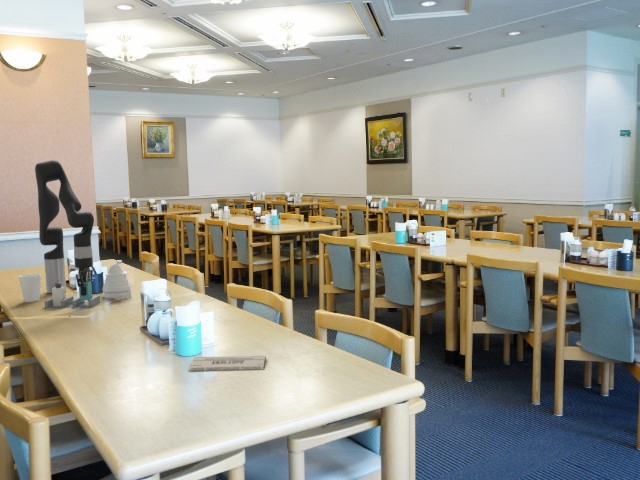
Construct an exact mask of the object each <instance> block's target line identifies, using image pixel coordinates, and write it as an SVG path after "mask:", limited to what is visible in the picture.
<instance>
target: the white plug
mask: <svg viewBox="0 0 640 480" xmlns="http://www.w3.org/2000/svg"><path fill="white" fill-rule="evenodd" d="M51 295H52V296H51V297H52V298H53V306H61V300H63V299H65V298H67V296H66V291H65V287H61V283H55V287H54V288H52V293H51Z"/></svg>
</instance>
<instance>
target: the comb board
mask: <svg viewBox="0 0 640 480" xmlns="http://www.w3.org/2000/svg"><path fill="white" fill-rule="evenodd" d="M101 303H102V301H101V296H100V295H95V296H92V298H91V299H89V300H87V301H86V300H80V296H78V297H76V298H74V296H73V295H70V296H68V297H67V296H66V298H65V299H63V300H61V306H53V297H51V298H49V299H46V300H44V307H42V309H79V308H80V309H85V308H86V309H87V308H94V307H96V306H98V305H100V304H101Z"/></svg>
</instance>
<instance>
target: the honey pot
mask: <svg viewBox="0 0 640 480" xmlns="http://www.w3.org/2000/svg"><path fill="white" fill-rule="evenodd" d="M122 263H123V260H122V259H119V260H116V263H115V262H114V263H112V264H111V266H110V267H109V268H108V271H107V272H106V273H105V279H104V283H103V286H102V297H103V298H105V299H111V301H120V300H121V301H122V300H126V299H130V298H131V297H132V289H131V287H132V286H131V284H130V282H129V279H128V278H127V275H128V272H127V271H125V270H124V269H123V268H122V266H121V264H122Z"/></svg>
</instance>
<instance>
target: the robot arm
mask: <svg viewBox="0 0 640 480" xmlns="http://www.w3.org/2000/svg"><path fill="white" fill-rule="evenodd" d="M34 167H35V168H34V172H35V181H36V186H37V201H38V202H37V204H38V207H37V208H38V215H39V232H38V233H39V235H38V236H39V243H40V244H41V245H42V246H56V247H55V248H53V249H52V250H50V251H47V252H45V253H44V254H43V259H44V260H43V261H44V273H45V287H46V288H45V290H46V294H52V288H54V287H55V283H61V287H65V292H66V291H67V281H66V269H65V268H66V264H65V251H64V232H63V231H64V230H63V228H62V227H61V226H49V225H50V224H51V223H52V222H53V221H54V220H55V218H57V216H58V215H59V213H60V204H61V205H62V207H63V209H64V211H65V215H66V218H67V222H68V225H69V226H70V227H72V228H73V229H78V228H79V229H80V228H81V231H79V232H77V233H74V235H73V247H74V248H73V259H74V268H76V269H78V274H75V280H76V284H77V287H78V288H79V287H80V288H81V296H85V295H86V282H87V277H88V281H91V284H92V283H93V273H94V270H93V269H91V268H92V267H93V266H94V260H93V259H94V258H93V257H94V256H93V248H92V241H91V240H92V238H91V237H92V232H93V228H94V223H95V218H94V214H92V212H91V211H90V210H89V211H88V210H85V211H84V210H82V211H81V209H82V203H81V202H80V200H79V199H78V197H77V196H76V194H75V192H74V191H73V190H74V189H73V188H72V186H71V184H70V182H69V178H68V176H67V174H66V172H65V170H64V167H63V165H62V163H60V162H59V160H56V159H53V160H52V159H51V160H47V161H41V162H39V163H36V164H35V166H34ZM55 181H59V182H60V187H59V191H58V196H57V195H56V194H55V192H53V191H52V190H51V189H50V188H49V187H48V185H47V184H48V183H50V182H55ZM83 279H85V280H83ZM79 282H80V283H79Z"/></svg>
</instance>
